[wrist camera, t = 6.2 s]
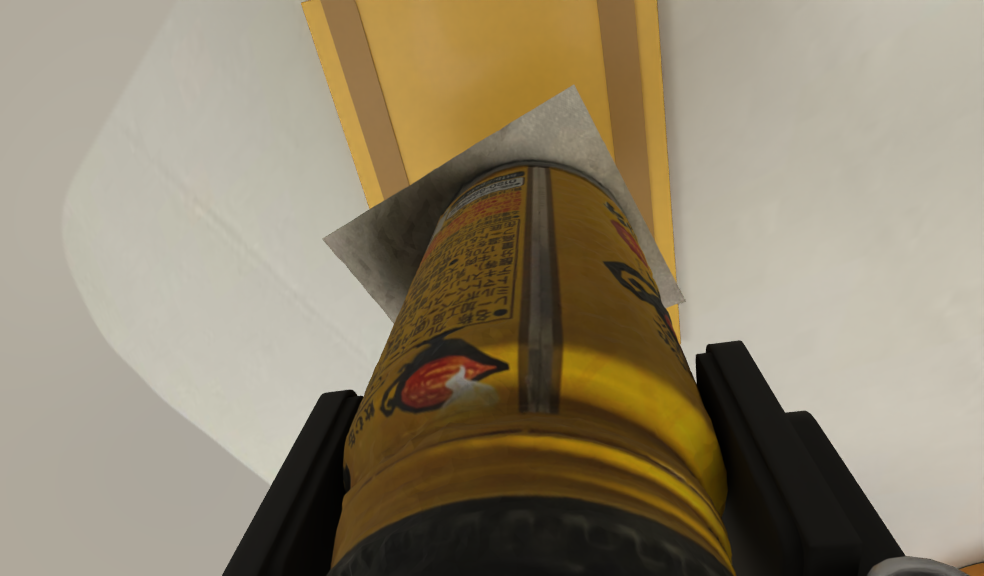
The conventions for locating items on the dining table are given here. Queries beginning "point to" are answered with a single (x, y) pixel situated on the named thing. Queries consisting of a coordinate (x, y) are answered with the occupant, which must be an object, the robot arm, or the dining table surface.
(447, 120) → the towel
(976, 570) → the flower pot
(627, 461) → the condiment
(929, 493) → the dining table surface
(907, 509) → the dining table surface
